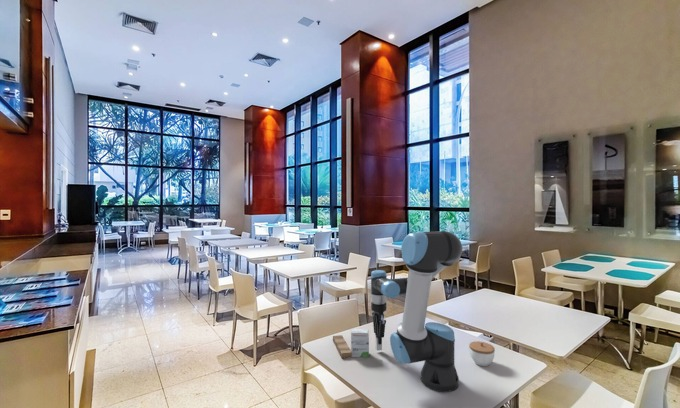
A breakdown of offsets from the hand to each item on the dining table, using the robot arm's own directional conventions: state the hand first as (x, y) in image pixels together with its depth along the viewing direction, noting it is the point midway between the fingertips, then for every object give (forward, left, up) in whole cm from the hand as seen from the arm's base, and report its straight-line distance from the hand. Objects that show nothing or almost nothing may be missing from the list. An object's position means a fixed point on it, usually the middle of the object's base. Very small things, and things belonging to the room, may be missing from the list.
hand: (378, 349), depth 159 cm
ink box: (0, +10, -1) cm, 10 cm away
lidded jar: (-21, -42, -1) cm, 47 cm away
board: (+8, +17, -1) cm, 19 cm away
